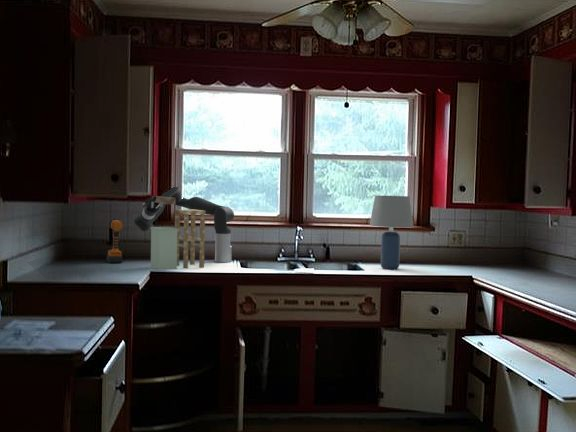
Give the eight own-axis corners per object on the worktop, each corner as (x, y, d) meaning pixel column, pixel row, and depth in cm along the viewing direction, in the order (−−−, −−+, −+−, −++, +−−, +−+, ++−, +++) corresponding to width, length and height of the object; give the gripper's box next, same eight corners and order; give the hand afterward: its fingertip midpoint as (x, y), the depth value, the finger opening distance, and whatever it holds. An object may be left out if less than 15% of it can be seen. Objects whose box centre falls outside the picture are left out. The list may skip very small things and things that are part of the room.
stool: (193, 264, 340) (194, 209, 338) (204, 267, 326) (205, 210, 325) (173, 265, 333) (174, 209, 332) (184, 268, 320) (185, 210, 318)
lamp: (416, 272, 330) (419, 196, 328) (372, 271, 328) (375, 195, 326) (405, 266, 355) (407, 196, 353) (364, 265, 354) (366, 195, 352)
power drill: (104, 259, 351) (105, 218, 349) (117, 259, 354) (118, 218, 352) (109, 264, 331) (110, 220, 330) (123, 263, 334) (123, 220, 333)
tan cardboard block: (158, 202, 335) (158, 196, 335) (175, 204, 311) (175, 197, 311) (152, 202, 333) (152, 196, 333) (169, 204, 309) (169, 197, 309)
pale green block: (168, 265, 331) (168, 226, 330) (177, 268, 319) (178, 228, 318) (150, 266, 325) (150, 227, 324) (158, 269, 313) (159, 229, 312)
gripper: (162, 216, 344) (171, 202, 330) (139, 216, 336) (147, 202, 323) (160, 205, 346) (169, 191, 333) (137, 205, 339) (145, 190, 326)
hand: (158, 196), depth 328 cm, fingers closed on tan cardboard block, 3 cm apart
